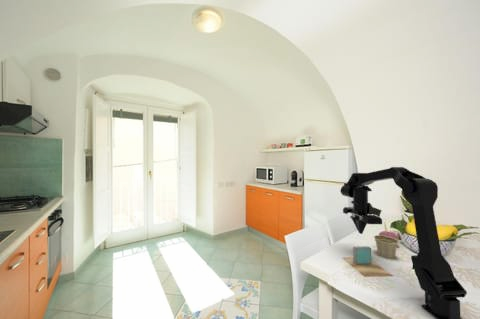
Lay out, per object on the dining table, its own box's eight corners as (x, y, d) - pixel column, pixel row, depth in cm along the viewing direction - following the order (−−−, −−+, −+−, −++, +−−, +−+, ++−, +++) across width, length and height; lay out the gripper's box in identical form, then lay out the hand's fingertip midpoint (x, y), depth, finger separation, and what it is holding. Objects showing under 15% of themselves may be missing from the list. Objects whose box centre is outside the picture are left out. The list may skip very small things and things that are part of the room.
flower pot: (404, 263, 81) (404, 244, 82) (380, 261, 83) (380, 242, 83) (391, 253, 90) (391, 236, 91) (370, 251, 92) (370, 234, 93)
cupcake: (375, 243, 103) (375, 221, 103) (384, 240, 106) (384, 219, 106) (394, 249, 95) (393, 226, 95) (402, 246, 98) (402, 224, 99)
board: (394, 278, 70) (394, 275, 70) (364, 279, 70) (364, 276, 70) (367, 259, 84) (367, 257, 84) (342, 260, 84) (342, 257, 84)
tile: (371, 264, 78) (371, 248, 79) (356, 264, 78) (355, 248, 78) (368, 262, 80) (368, 246, 80) (353, 262, 80) (353, 246, 80)
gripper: (394, 204, 76) (395, 242, 75) (363, 196, 94) (363, 226, 94) (368, 204, 75) (368, 242, 75) (342, 196, 94) (342, 226, 94)
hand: (360, 233), depth 84 cm, fingers closed
